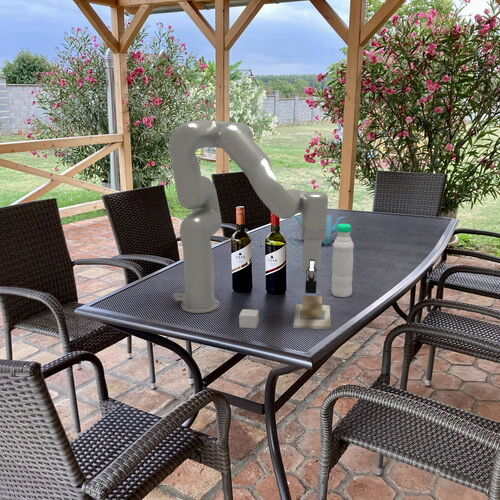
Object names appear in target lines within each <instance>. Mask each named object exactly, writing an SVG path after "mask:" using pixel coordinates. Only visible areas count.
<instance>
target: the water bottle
mask: <svg viewBox="0 0 500 500" xmlns="http://www.w3.org/2000/svg"><path fill="white" fill-rule="evenodd" d="M336 232H337V235H336V238H335V240H334V241H333V244H332V248H333V251H332V261H331V263H332V277H331V284H332V285H331V294H332V295H333V296H335V297H337V298H347V297H350V296H351V295H352V294H353V285H352V284H353V269H354V248H355V244H354V242H353V240H352V237H351V235H350V233H351V232H352V225H351V224H349V223H339V225H337V230H336Z"/></svg>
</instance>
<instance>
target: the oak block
mask: <svg viewBox="0 0 500 500" xmlns="http://www.w3.org/2000/svg"><path fill="white" fill-rule="evenodd" d="M322 305H323V296H318V295H315V296H314V295H313V296H312V295H310V296H309V295H303V296H302V318H314V319H322Z"/></svg>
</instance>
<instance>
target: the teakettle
mask: <svg viewBox="0 0 500 500" xmlns="http://www.w3.org/2000/svg"><path fill="white" fill-rule="evenodd" d="M292 218H294V219H296V220H297V221H298V224H299V228H300V229H301V219H302V217H300V216H298V215H294V216H293V217H292ZM345 218H346V216H339V217H337V219H336V220H335V223H334V224H333V225H332V219H333V218H332V214H327V227H326V239H325V240H323V241H322V243H321V245H322V246H325V247H326V246H327V247H328V246H329V244H331V243H332V235H333V234H334V233H335V232H337V225H339V224H340V223H341V220H343V219H345Z"/></svg>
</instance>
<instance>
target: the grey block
mask: <svg viewBox="0 0 500 500" xmlns="http://www.w3.org/2000/svg"><path fill="white" fill-rule="evenodd" d="M259 311H260V310H259V309H249V308H248V309H246V308H245V309H244V308H242V310H241V311H240V313H239V315H238V318H239V319H238V321H239V324H238V325H239V328H244V329H245V328H246V329H257V327H258V325H259V323H260V322H259V321H260V317H259V316H260V315H259V314H260V312H259Z"/></svg>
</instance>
